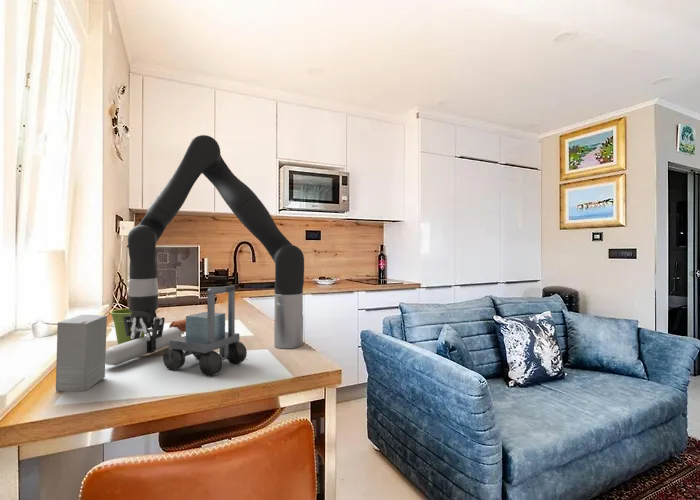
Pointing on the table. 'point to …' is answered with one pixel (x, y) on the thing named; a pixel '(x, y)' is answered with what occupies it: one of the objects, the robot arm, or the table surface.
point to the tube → (138, 347)
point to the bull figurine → (179, 325)
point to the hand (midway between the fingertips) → (144, 351)
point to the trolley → (208, 338)
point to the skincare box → (80, 352)
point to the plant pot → (122, 325)
